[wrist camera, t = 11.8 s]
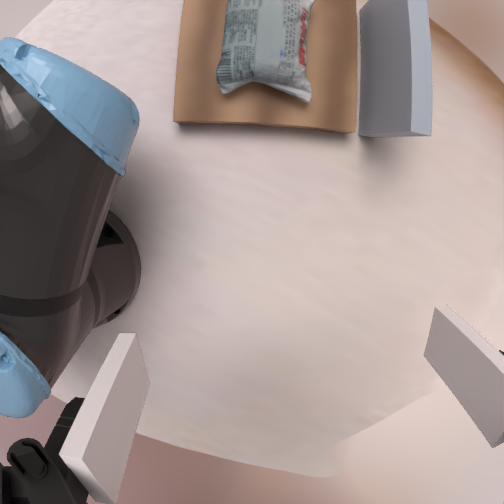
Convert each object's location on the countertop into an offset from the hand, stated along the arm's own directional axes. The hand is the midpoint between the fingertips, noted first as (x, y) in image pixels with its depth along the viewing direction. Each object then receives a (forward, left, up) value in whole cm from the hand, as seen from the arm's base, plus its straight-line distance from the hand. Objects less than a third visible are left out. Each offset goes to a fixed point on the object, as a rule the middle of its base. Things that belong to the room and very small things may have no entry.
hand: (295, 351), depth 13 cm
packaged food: (0, +19, -21) cm, 28 cm away
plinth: (0, +19, -24) cm, 30 cm away
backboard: (+11, +19, -24) cm, 32 cm away
